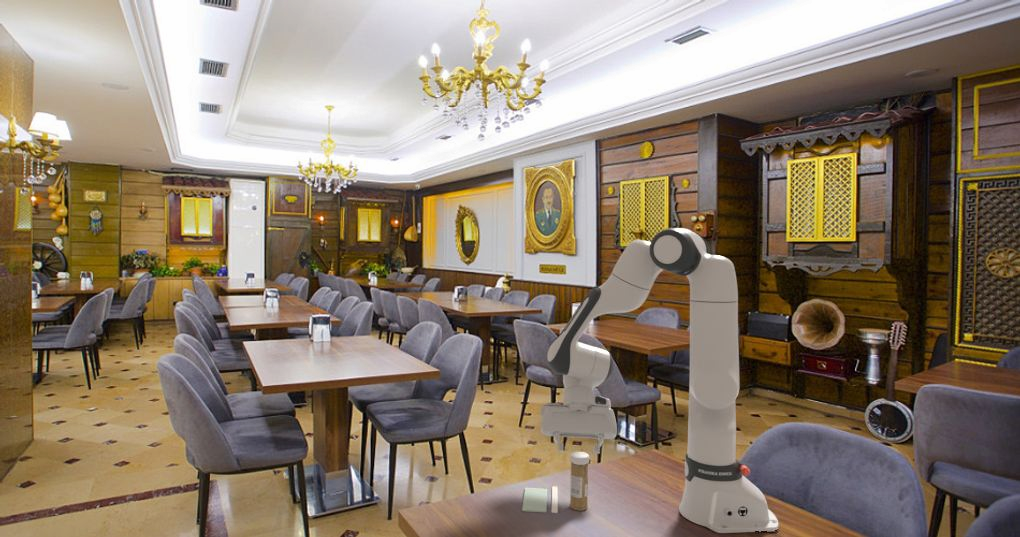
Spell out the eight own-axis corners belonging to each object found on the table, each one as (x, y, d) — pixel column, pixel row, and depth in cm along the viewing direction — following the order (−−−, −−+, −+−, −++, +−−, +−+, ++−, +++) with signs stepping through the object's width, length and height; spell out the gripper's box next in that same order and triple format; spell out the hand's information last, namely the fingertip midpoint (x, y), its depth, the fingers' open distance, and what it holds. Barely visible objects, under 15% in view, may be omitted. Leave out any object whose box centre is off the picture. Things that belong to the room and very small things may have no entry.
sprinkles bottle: (591, 508, 138) (592, 455, 138) (577, 513, 136) (578, 458, 135) (579, 501, 142) (580, 449, 142) (565, 505, 140) (566, 452, 139)
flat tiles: (557, 487, 150) (557, 486, 150) (557, 513, 135) (557, 511, 135) (525, 485, 151) (525, 484, 151) (522, 511, 136) (522, 509, 136)
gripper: (540, 396, 152) (538, 443, 143) (616, 400, 151) (618, 448, 141) (541, 408, 157) (538, 454, 147) (614, 411, 155) (616, 459, 146)
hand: (578, 451), depth 144 cm, fingers open, 8 cm apart
